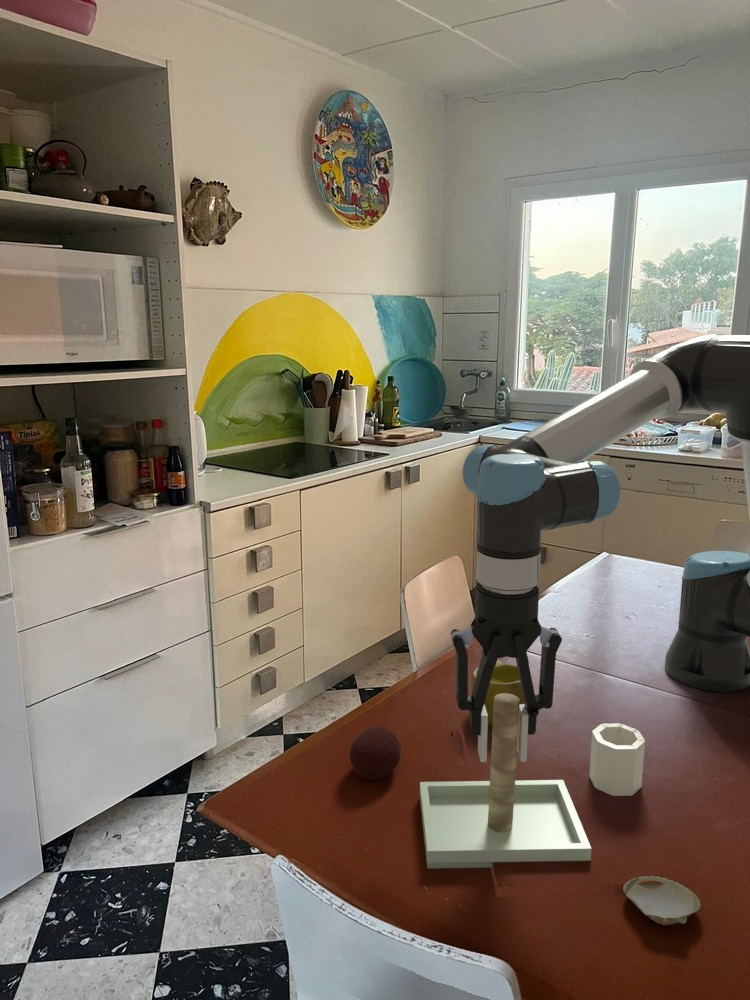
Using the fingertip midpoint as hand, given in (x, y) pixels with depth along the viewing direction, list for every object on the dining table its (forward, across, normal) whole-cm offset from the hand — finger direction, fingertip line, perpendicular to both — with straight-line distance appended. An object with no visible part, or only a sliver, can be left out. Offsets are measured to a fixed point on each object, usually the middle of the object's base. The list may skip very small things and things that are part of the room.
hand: (501, 755), depth 98 cm
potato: (+11, +16, -14) cm, 24 cm away
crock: (+11, -18, -9) cm, 23 cm away
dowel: (+10, 0, 0) cm, 10 cm away
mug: (+11, -5, -30) cm, 32 cm away
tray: (+11, 0, 0) cm, 11 cm away
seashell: (+11, -16, +14) cm, 24 cm away
